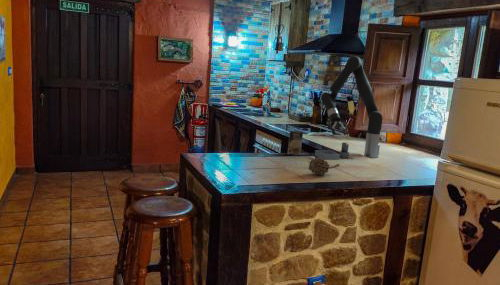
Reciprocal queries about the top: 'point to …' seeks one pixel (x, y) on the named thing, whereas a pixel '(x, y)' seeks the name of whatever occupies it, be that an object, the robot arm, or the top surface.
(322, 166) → the pine cone
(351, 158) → the stud base
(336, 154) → the slate bin
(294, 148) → the coffee box
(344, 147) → the metal strut
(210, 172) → the top surface
